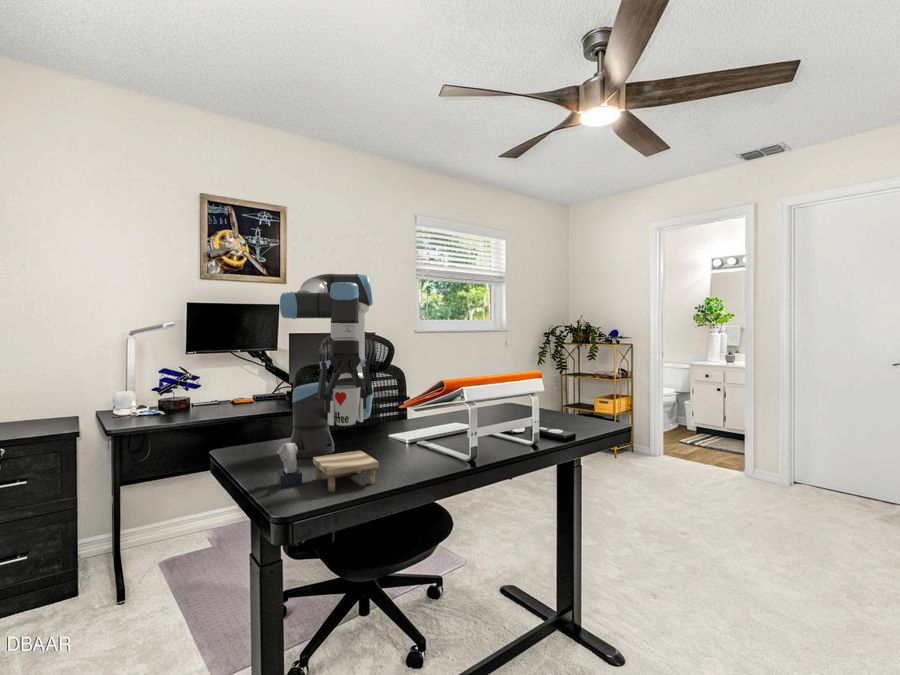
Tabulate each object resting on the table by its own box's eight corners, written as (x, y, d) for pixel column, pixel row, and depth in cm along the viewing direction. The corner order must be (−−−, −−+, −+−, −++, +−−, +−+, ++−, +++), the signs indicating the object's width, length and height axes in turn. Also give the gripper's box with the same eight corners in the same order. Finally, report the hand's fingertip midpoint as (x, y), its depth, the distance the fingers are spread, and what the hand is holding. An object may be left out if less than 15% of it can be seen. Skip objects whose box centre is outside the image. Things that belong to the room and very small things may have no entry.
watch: (297, 478, 134) (297, 439, 134) (303, 486, 127) (302, 445, 127) (276, 481, 131) (276, 441, 131) (281, 490, 124) (280, 448, 124)
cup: (324, 424, 130) (324, 387, 130) (348, 419, 137) (347, 384, 136) (343, 428, 125) (343, 390, 125) (367, 423, 132) (366, 386, 131)
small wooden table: (313, 478, 134) (312, 457, 133) (360, 470, 141) (360, 450, 141) (327, 493, 122) (327, 470, 121) (379, 484, 129) (378, 461, 129)
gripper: (310, 340, 122) (311, 429, 122) (385, 339, 133) (385, 421, 133) (303, 339, 128) (304, 424, 129) (374, 338, 139) (375, 416, 139)
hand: (345, 422), depth 131 cm, fingers closed on cup, 8 cm apart
